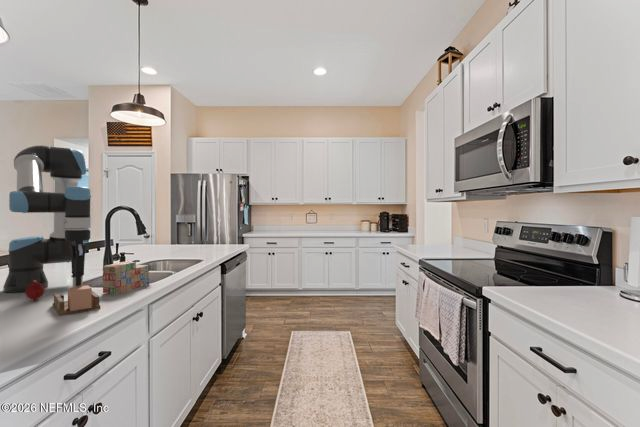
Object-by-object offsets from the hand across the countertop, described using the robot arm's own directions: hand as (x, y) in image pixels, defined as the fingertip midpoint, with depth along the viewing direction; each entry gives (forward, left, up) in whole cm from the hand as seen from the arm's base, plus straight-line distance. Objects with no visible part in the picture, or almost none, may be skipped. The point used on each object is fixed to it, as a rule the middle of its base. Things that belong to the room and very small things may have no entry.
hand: (77, 294), depth 121 cm
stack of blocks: (-22, +22, -6) cm, 32 cm away
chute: (-3, 0, -5) cm, 6 cm away
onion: (-25, -10, -6) cm, 27 cm away
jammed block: (+4, 0, -4) cm, 6 cm away
